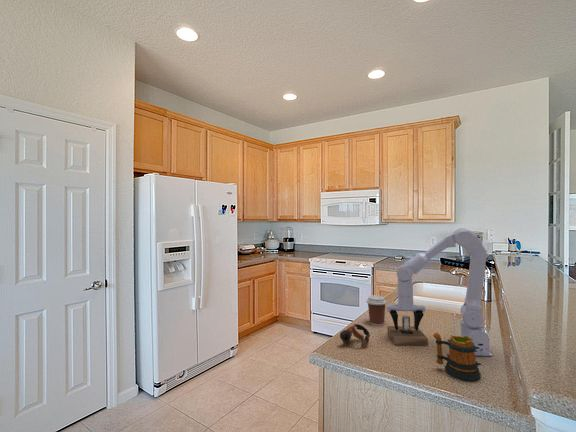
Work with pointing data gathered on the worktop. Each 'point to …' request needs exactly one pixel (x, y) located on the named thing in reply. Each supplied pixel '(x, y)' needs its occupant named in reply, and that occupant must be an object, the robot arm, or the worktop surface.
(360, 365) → the worktop surface
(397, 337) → the hole block
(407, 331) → the peg
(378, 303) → the coffee cup
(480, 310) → the robot arm
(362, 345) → the brown curled shape
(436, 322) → the worktop surface
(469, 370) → the mug
